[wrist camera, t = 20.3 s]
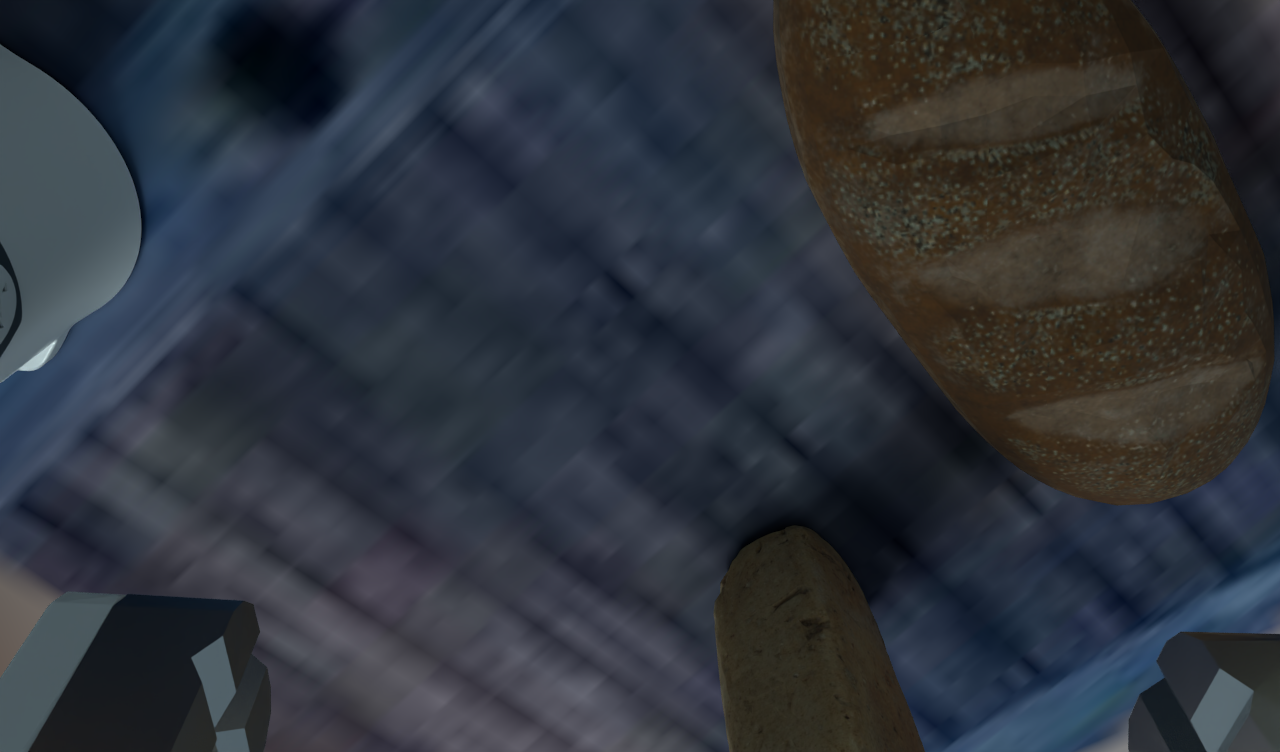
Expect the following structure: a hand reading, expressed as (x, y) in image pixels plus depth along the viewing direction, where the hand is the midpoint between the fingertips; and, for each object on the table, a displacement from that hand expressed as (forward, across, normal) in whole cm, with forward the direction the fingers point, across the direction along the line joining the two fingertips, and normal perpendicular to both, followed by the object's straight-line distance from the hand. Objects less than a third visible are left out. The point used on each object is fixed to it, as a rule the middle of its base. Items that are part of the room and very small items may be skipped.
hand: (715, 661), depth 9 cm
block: (+38, -12, +36) cm, 54 cm away
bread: (+39, -19, +11) cm, 45 cm away
